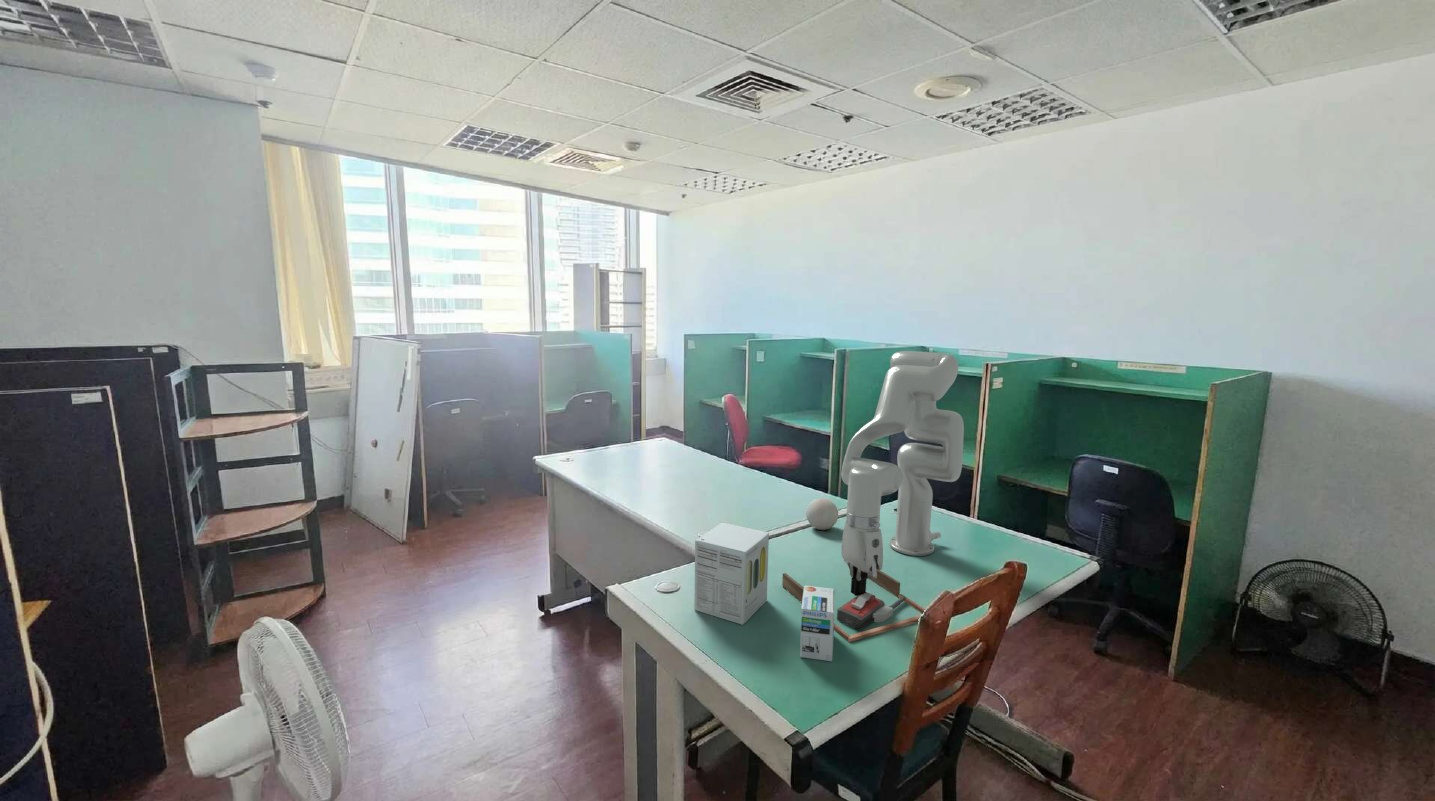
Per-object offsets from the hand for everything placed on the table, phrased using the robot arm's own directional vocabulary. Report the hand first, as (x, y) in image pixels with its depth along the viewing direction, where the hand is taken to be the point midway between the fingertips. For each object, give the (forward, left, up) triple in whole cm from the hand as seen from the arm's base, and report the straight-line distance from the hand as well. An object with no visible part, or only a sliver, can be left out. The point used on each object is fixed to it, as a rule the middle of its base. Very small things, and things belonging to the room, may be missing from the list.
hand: (858, 593), depth 138 cm
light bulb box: (+19, +10, -3) cm, 21 cm away
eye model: (-20, -43, -3) cm, 48 cm away
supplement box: (+28, -12, -3) cm, 30 cm away
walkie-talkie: (-1, +4, -4) cm, 5 cm away
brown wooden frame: (0, -1, -3) cm, 3 cm away
